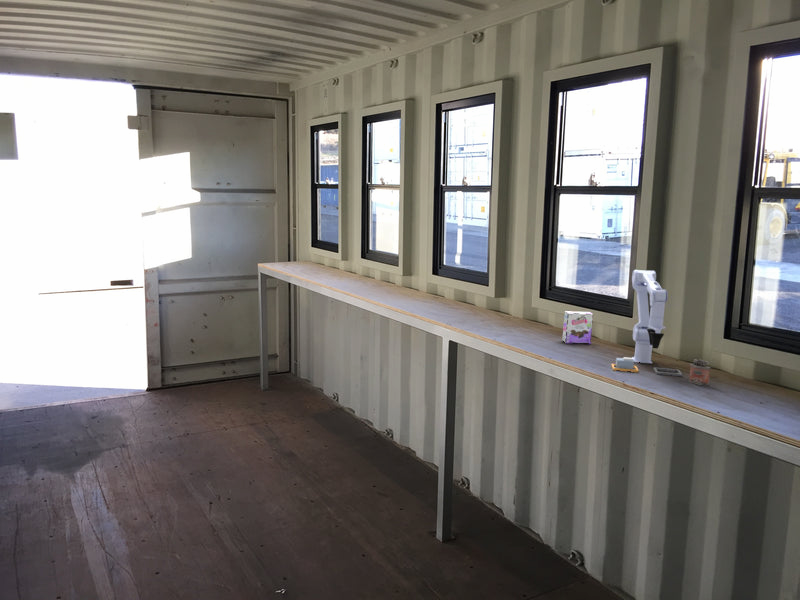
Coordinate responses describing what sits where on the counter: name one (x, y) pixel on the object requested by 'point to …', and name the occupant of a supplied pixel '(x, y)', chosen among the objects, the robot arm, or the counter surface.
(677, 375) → the open gray picture frame
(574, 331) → the candy box
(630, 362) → the plug
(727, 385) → the counter surface
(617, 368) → the orange picture frame
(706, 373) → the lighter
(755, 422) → the counter surface
